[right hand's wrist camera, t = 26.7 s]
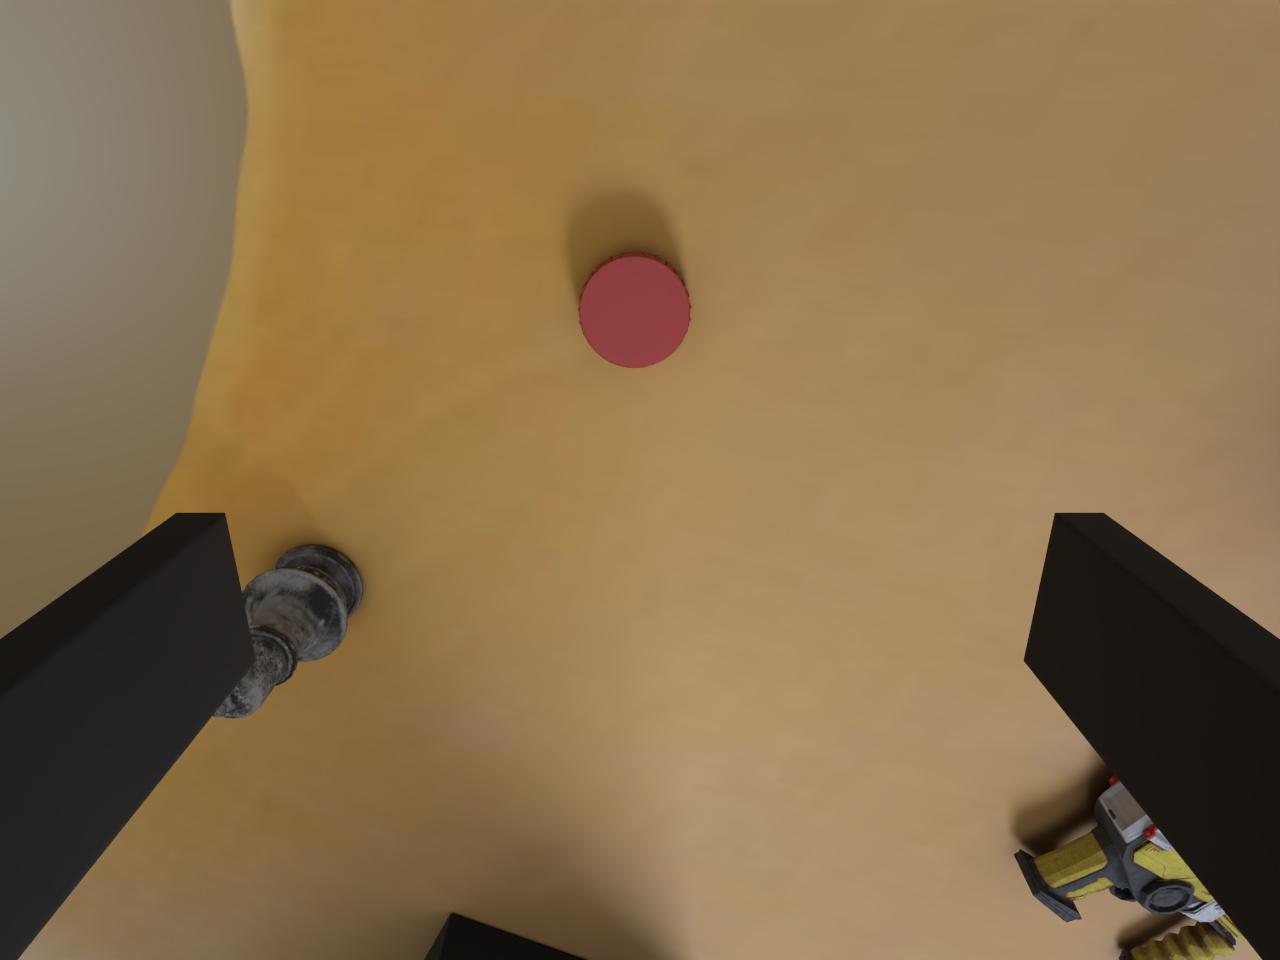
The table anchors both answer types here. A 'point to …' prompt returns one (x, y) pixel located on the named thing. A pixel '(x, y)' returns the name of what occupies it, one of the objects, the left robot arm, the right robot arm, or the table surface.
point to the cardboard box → (485, 944)
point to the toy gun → (1132, 879)
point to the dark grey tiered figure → (293, 620)
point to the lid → (634, 310)
